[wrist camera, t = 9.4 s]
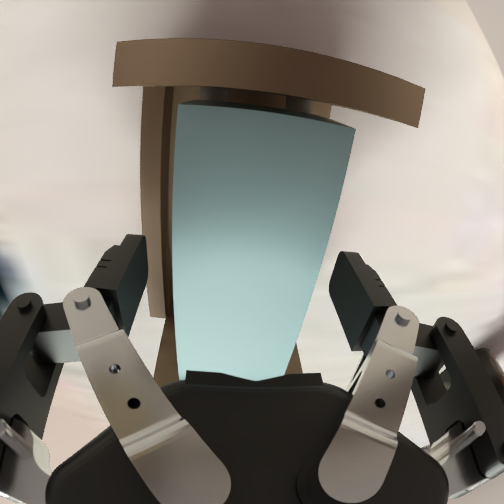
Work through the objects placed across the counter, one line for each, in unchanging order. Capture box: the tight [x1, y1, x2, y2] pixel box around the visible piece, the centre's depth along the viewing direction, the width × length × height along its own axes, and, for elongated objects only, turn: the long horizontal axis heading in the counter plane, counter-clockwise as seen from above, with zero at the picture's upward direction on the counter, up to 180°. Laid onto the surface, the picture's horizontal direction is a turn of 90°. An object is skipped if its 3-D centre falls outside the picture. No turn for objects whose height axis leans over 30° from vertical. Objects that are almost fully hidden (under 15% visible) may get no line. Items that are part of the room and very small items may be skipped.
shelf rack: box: [112, 38, 425, 387], centre depth 13 cm, size 9×16×9 cm, turn 173°
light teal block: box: [172, 100, 356, 381], centre depth 12 cm, size 5×12×4 cm, turn 172°
